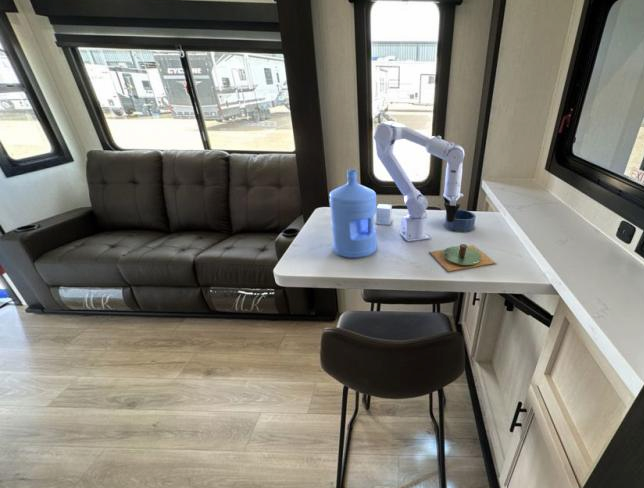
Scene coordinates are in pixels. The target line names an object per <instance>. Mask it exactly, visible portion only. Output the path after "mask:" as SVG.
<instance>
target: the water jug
mask: <svg viewBox="0 0 644 488" xmlns="http://www.w3.org/2000/svg"><path fill="white" fill-rule="evenodd" d="M346 173H347V176H346V178H347V181H346V183H345V184H344V185H341V186H339V187H337V188H335V189H333V190H331V191H330V192H329V207H330V216H331V230H332V238H333V243H332V245H333V250H334V252H335V253H336V254H337V255H338V256H340V257H343V258H349V259H360V258H364V257H368V256H370V255H373V253H375V252H376V250H377V249H378V241H377V229H376V228H375V227H374V217H375V216H376V208H377V205H378V204H377V193H376V192H375V190H374V189H371V188H369V187H367V186H365V185H363V184H360V183H359V182H358V175H357V173H358V170H356V169H348V170H346Z"/></svg>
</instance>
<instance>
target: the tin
mask: <svg viewBox="0 0 644 488" xmlns="http://www.w3.org/2000/svg"><path fill="white" fill-rule="evenodd" d="M476 217H477V216H476V214H475V213H474V212H473V211H469V210H465V209H464V210H463V209H458V210H457V212H456V215H455V218H454V221H453V222H448V221H447V214H446V213H445V220H444V227H445V228H446V229H447V230H449V231H451V232H455V233H469V232H472V231H473V230H474V228H475V223H476Z"/></svg>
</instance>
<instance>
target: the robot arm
mask: <svg viewBox="0 0 644 488" xmlns="http://www.w3.org/2000/svg"><path fill="white" fill-rule="evenodd" d="M373 139H374V142H375V149H376V150H375V151H376V156H377V158H378V160H379V161H380V162H381V164H382V165H383V167H384V169H385V170H386V171H387V173H388V174H389V176H390V178H391V179H392V181H393V182H394V183H395V186H396V187H397V188H398V190H399V191H400V193H401V194H402V196H403V199H404V204H405V206H406V208H407V213H408V214H407V215H405V216H402V218H401V230H400V235H401V236H402V237H403V238H404V239H405V240H406V242H415V241H420V240H421V241H422V240H429V239H430V236H428V235H427V222H428V220H427V219H428V213H427V209H428V207H429V199H428V198H427V197H426V196H425V195H423V194H422V193H421V191H420V190H419V189H417V188H416V187H415V186H414V184H413V183H412V180H411V179H410V178H409V177H408V175H407V172H406V171H405V170H404V168H403V167H402V165H401V163H400V161H398V159H397V158H396V156H395V154H394V152H393V151H394V146H395V143H396V141H398V140H406V141H409V142H411V143H414V144H415V145H419V146H421V147H423V148H425V150H426V152H427V153H428V154H430V155H432V156H434V157H437V158H439V159H441V160H444V161H445V160H446V167H445V168H446V169H445V178H444V189H443V195H442V198H443V201H444V202H443V205H444V209H445V215H446V214H447V221H448V222H453V221H454V218H455V215H456V212H457V210H460V207H461V204H460V203H457V200H459V199H460V198H463V197H464V194H463V193H461V187H462V179H463V166H464V164H463V163H464V159H465V155H466V154H465V149H464V148H463V147H462V146H461V145H460V144H455V142H453V141H451V142H449V141H447V140H444V139H442V136H441V135H437V136H436V135H433V136H431V137H428V136H426V135H424V134H423V133H420V132H418V131H416V130H415V129H412V128H411V127H409V126H407V125H405V124H402V123H399V122H395V121H394V120H389V121H386V122H380V123H379V124H378V125H377V126H376V127H375V131H374V134H373Z"/></svg>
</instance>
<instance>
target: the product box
mask: <svg viewBox="0 0 644 488" xmlns="http://www.w3.org/2000/svg"><path fill="white" fill-rule="evenodd" d="M392 208H393V205H392V204H389V203H388V204H387V203H385V204H384V203H379V204H377V205H376V214H375V216H376V217H375V218H376V220H375V221H376V222H375V223H376V225H384V226H390V225H391V223H392V215H393V213H392V210H393V209H392Z"/></svg>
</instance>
